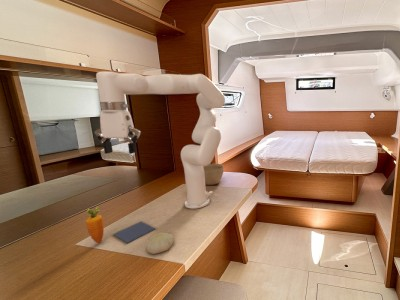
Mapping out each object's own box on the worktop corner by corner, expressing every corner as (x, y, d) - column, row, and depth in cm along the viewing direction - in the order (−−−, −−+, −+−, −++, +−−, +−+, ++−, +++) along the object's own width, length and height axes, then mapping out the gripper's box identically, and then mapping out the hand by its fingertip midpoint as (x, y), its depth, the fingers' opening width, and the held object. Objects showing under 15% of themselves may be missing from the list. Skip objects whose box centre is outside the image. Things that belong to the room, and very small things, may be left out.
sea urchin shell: (158, 232, 86) (167, 222, 83) (171, 248, 85) (180, 238, 82) (137, 246, 78) (146, 236, 74) (151, 264, 77) (161, 254, 74)
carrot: (105, 237, 86) (98, 203, 83) (109, 242, 83) (101, 207, 80) (89, 244, 83) (81, 208, 80) (92, 249, 80) (84, 212, 76)
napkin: (140, 222, 98) (140, 221, 97) (155, 229, 92) (155, 228, 92) (113, 234, 88) (113, 234, 88) (127, 243, 83) (127, 242, 83)
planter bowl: (208, 177, 155) (207, 162, 152) (228, 179, 150) (227, 164, 147) (194, 185, 140) (192, 169, 137) (216, 188, 135) (215, 171, 132)
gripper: (143, 107, 83) (148, 151, 86) (100, 107, 84) (107, 150, 87) (129, 107, 75) (136, 155, 79) (82, 107, 76) (91, 155, 80)
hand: (120, 152), depth 83 cm, fingers open, 9 cm apart
